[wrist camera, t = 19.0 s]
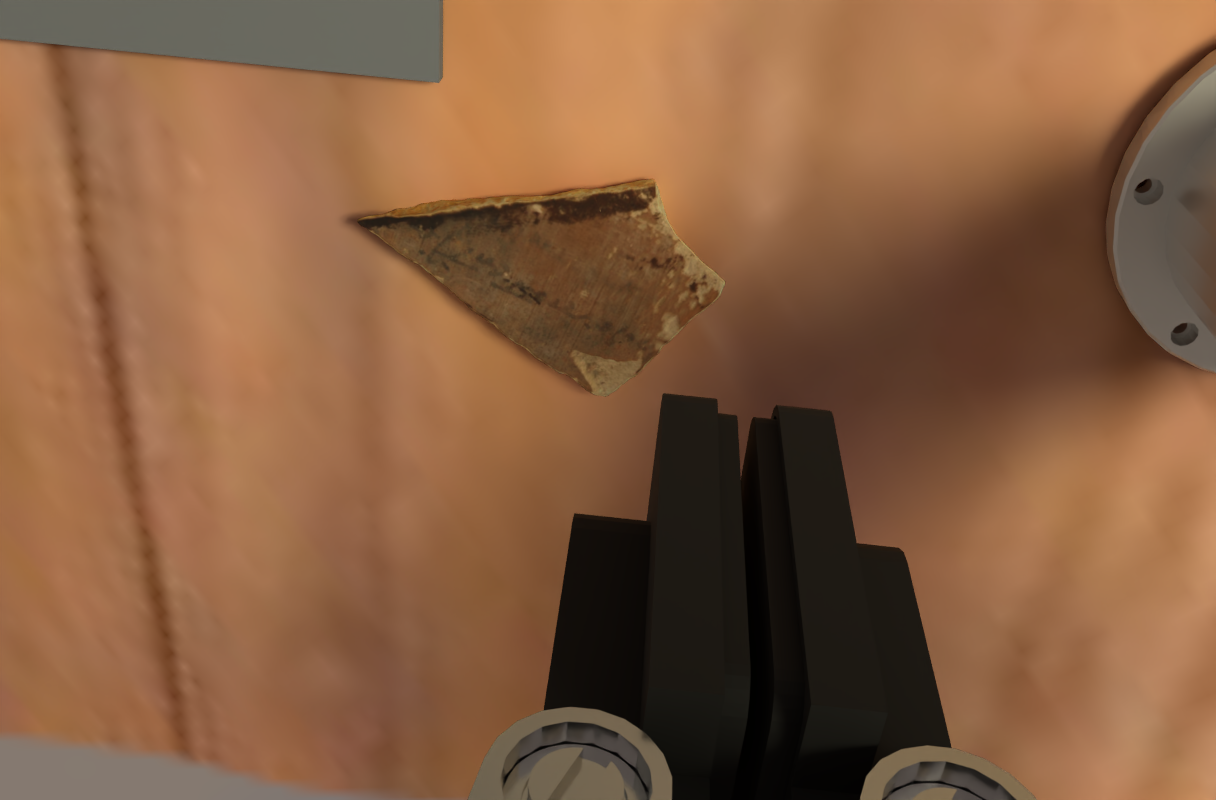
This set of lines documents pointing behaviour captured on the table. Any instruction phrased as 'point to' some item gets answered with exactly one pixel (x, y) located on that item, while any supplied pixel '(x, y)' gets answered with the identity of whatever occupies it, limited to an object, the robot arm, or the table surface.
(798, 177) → the table surface
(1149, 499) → the table surface
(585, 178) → the table surface
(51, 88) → the table surface
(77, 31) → the slate mat
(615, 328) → the shard
